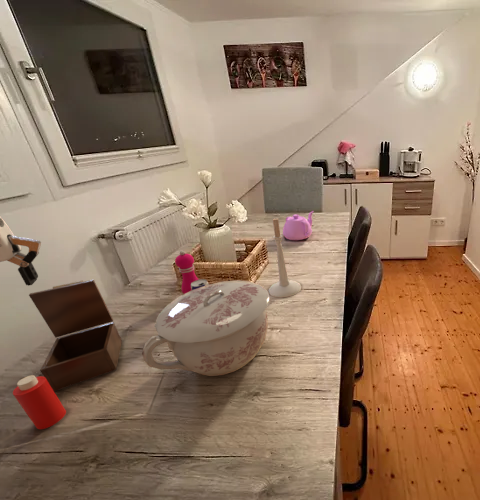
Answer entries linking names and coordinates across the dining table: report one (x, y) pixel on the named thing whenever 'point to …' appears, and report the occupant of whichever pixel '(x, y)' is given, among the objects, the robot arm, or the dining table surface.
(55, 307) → the lid
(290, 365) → the dining table surface
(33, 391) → the ketchup bottle
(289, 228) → the teapot
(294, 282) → the candlestick
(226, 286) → the chamber pot
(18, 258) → the robot arm
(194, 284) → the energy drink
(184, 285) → the pepper mill
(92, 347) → the chest
